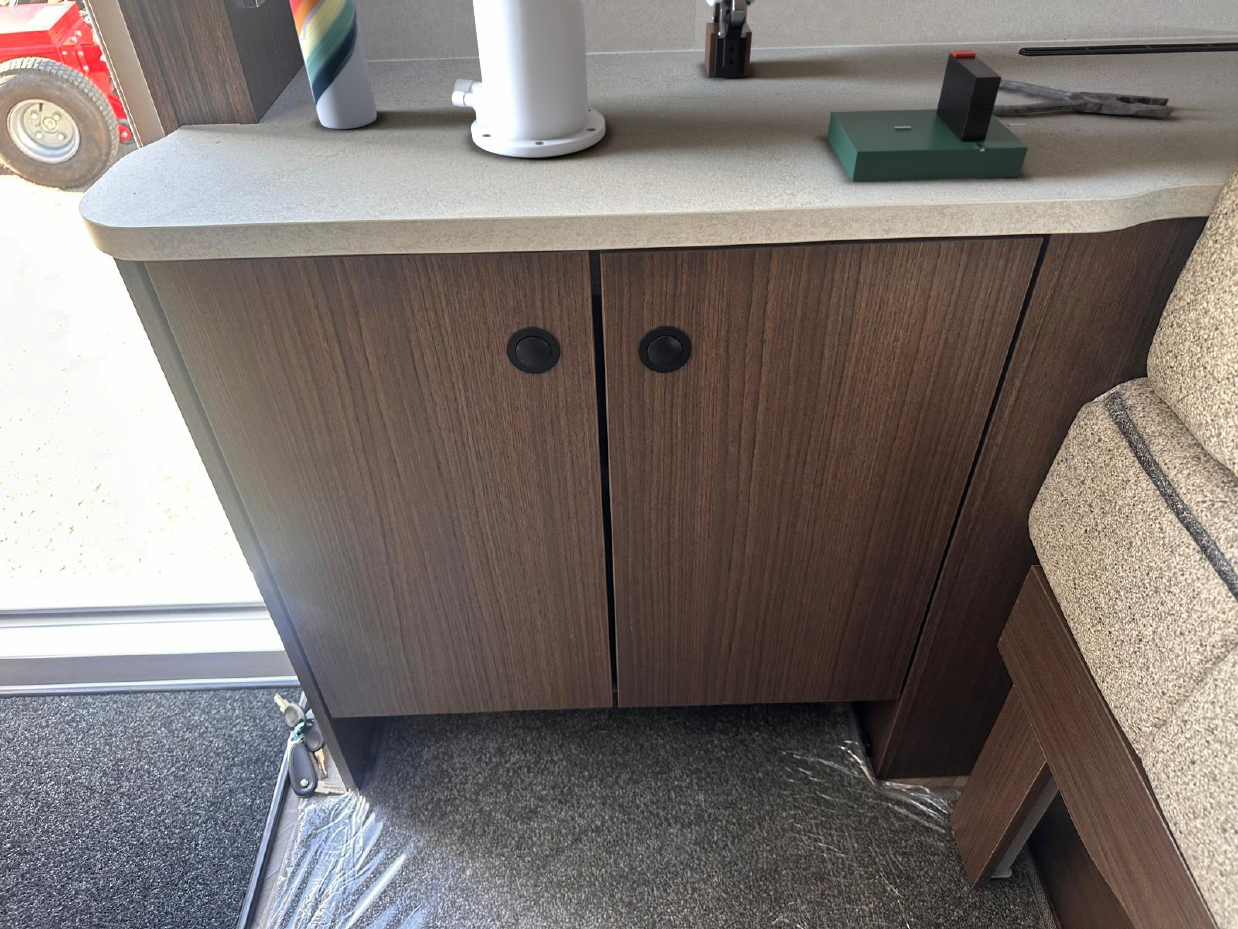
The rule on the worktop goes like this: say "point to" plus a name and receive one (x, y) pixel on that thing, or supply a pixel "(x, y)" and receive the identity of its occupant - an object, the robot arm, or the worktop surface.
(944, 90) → the block
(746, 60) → the block
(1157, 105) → the pliers
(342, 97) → the lotion bottle
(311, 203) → the worktop surface
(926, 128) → the green base
